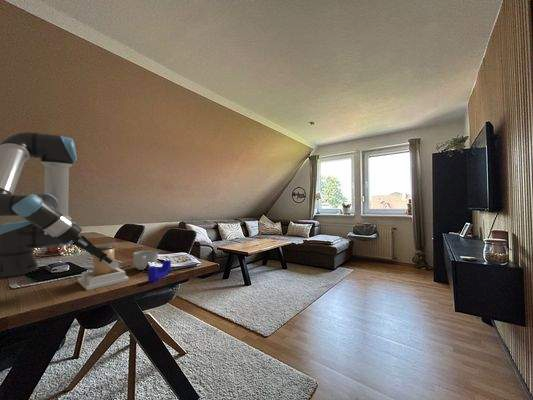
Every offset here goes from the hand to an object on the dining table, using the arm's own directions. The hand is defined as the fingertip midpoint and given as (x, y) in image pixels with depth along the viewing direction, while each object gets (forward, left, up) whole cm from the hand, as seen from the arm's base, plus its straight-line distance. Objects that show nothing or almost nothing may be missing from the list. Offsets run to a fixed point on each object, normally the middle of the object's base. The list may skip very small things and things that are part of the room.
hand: (113, 265), depth 95 cm
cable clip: (+12, +13, -6) cm, 19 cm away
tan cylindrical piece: (0, -4, -4) cm, 5 cm away
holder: (0, -4, -6) cm, 7 cm away
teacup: (-5, +14, -6) cm, 16 cm away
